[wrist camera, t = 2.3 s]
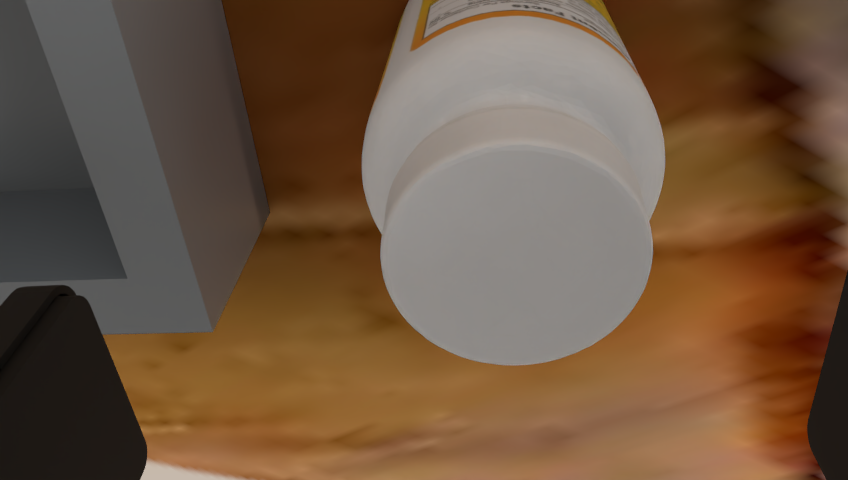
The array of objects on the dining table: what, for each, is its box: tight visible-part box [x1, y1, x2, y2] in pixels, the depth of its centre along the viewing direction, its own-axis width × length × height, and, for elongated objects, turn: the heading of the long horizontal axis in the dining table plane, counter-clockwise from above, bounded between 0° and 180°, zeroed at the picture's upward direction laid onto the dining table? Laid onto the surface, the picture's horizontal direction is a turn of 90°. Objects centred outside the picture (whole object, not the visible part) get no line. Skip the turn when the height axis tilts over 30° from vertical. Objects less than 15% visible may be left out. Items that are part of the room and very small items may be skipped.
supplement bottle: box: [362, 0, 665, 365], centre depth 15 cm, size 5×5×10 cm
